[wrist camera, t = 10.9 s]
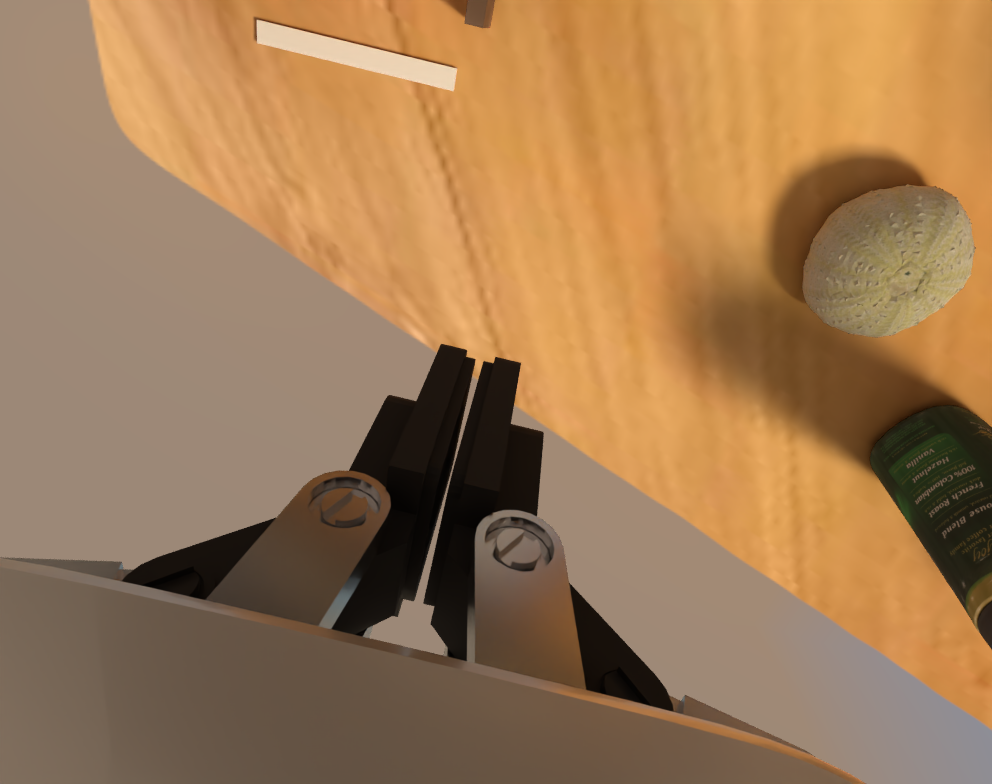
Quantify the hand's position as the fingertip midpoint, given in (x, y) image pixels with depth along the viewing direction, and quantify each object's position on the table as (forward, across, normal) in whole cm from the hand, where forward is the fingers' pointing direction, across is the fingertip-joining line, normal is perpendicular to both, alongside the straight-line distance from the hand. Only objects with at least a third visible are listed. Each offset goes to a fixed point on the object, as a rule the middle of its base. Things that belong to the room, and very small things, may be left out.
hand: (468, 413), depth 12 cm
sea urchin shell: (+30, -22, +1) cm, 37 cm away
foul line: (+29, +12, -3) cm, 32 cm away
